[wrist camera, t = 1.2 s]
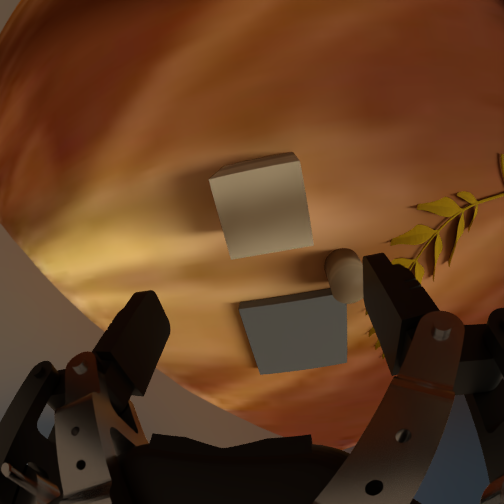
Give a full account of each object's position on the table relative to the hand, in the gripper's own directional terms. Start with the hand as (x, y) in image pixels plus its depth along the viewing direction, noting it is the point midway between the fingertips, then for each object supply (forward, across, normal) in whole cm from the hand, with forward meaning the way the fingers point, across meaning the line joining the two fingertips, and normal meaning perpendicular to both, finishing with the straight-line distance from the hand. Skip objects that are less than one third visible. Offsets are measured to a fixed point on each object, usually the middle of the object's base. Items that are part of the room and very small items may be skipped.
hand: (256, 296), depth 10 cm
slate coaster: (+15, 0, +16) cm, 22 cm away
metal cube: (+15, 0, 0) cm, 15 cm away
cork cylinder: (+15, -6, +8) cm, 18 cm away
